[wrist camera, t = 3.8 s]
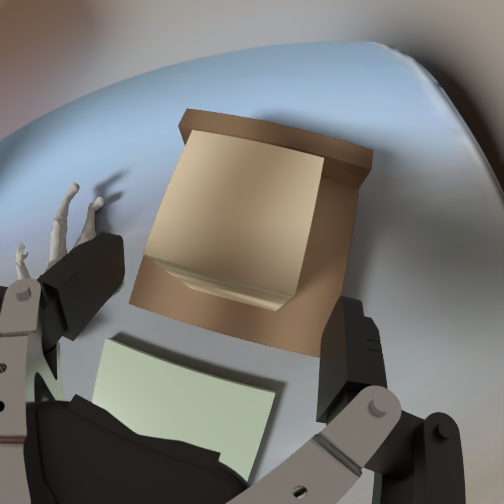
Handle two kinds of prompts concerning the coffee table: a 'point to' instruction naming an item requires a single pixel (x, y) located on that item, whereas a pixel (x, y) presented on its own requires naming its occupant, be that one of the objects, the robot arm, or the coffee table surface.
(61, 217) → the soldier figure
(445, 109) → the coffee table surface
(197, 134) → the birch block
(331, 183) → the walnut ledge
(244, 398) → the pad
